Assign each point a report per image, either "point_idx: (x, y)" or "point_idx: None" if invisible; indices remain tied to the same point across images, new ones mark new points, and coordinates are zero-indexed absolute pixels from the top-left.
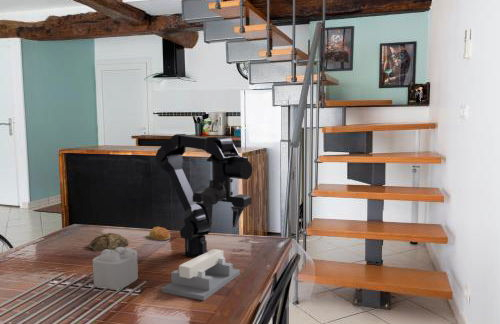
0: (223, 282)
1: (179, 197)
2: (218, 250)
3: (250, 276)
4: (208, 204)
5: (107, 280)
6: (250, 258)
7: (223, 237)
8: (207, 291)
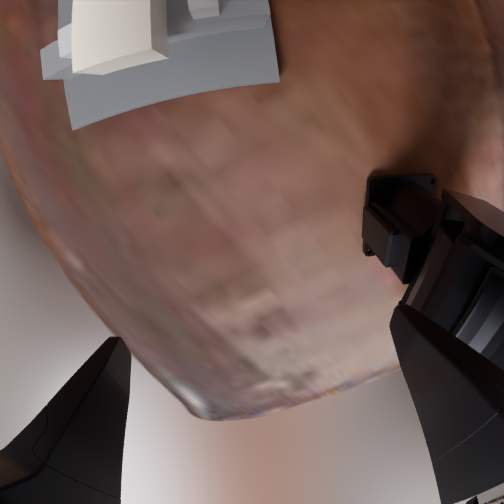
0: (59, 6)
1: None
2: (98, 48)
3: (42, 139)
4: (481, 469)
5: None
6: (170, 285)
7: (372, 365)
8: None
